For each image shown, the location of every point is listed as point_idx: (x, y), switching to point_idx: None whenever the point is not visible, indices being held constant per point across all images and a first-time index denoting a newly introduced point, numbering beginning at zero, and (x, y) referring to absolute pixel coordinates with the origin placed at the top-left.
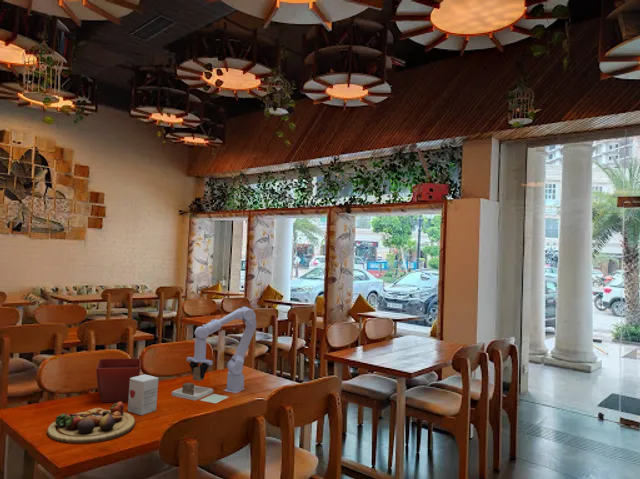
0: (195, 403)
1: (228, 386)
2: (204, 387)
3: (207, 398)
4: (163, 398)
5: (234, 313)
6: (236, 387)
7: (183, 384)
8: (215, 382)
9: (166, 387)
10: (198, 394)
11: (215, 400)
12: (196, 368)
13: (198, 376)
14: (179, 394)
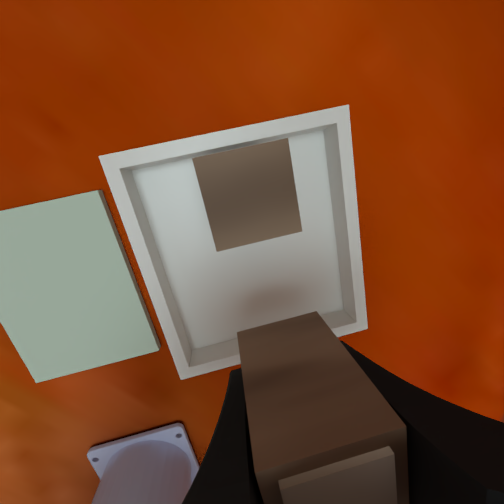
0: (78, 131)
1: (140, 471)
2: None
3: (95, 257)
4: (346, 41)
5: None
6: (95, 495)
7: (277, 141)
8: None
9: (484, 234)
10: (133, 215)
11: (13, 268)
12: (340, 449)
13: (255, 359)
14: (268, 123)
